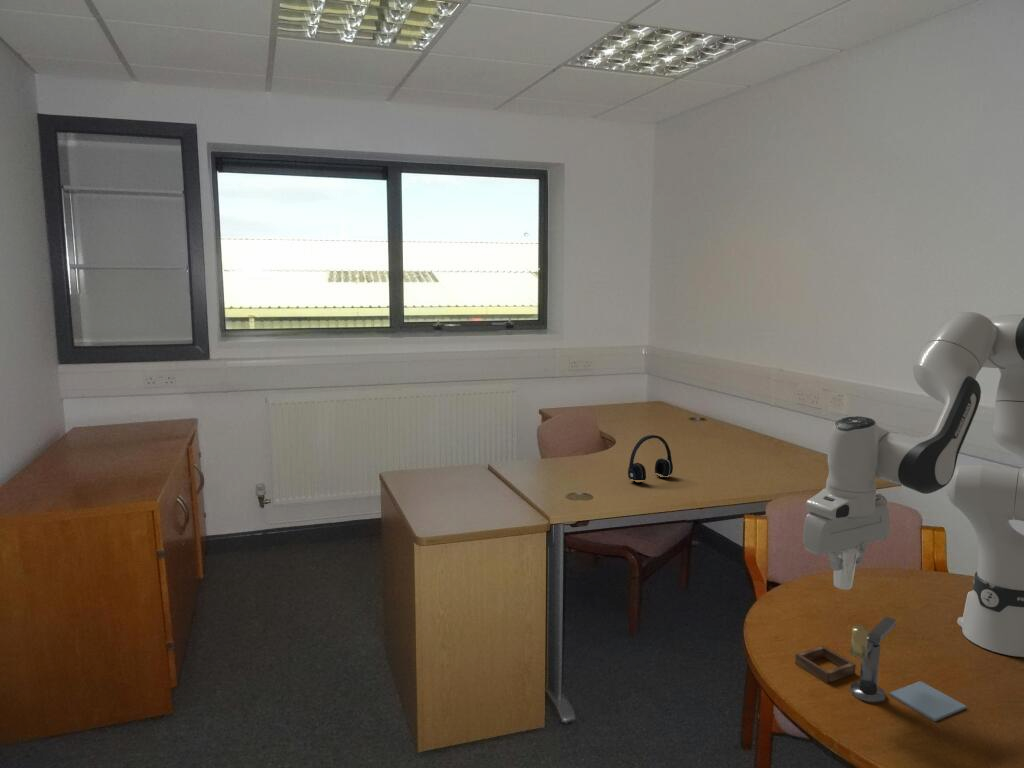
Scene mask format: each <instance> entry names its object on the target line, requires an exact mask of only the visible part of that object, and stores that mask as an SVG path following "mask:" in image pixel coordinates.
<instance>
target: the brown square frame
mask: <svg viewBox="0 0 1024 768" xmlns="http://www.w3.org/2000/svg"><path fill="white" fill-rule="evenodd" d="M821 658H824V659H825V660H827V661H829V662H830V663H832V664H833V665H836V666H837V667H835V668H832V669H828V670H827V669H825V668H823V667H822V666H820V665H818V664H817V663H815V662H814V661H816V660H819V659H821ZM794 659H795V661H794V664H796V666H798V667H801V668H802V669H804V670H805V671H807V672H808V673H810V674H811V675H813V676H814V677H816V678H818V679H820V680H821V681H823V682H824V683H826V684H829V683H832V682H835V681H837V680H840V679H843V678H845V677H846V678H847V677H849V676H851V675H854V674H856V669H857V667H856V663H854V662H852V661H851V660H849V659H847V658H845V657H844V656H842V655H841V654H838V653H836V651H833V650H831V649H829V648H828V647H826V646H825V645H821V646H818V647H814V648H812V649H808V650H806V651H802V652H798V653H796V654H795V658H794Z"/></svg>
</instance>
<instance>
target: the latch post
mask: <svg viewBox="0 0 1024 768" xmlns="http://www.w3.org/2000/svg"><path fill="white" fill-rule="evenodd" d="M880 656H881V645H880V646H878V647H873V648H872V649H871V650H870V652H869V653H868V654H867V655H866V658H863V659H862V658H860V661H861V662H860V673H859V681H854V682H852V683H851V684H850V690H849V691H850V693H851V695H852V696H853V697H854V698H856V699H858V700H859V701H862V702H864V703H868V704H882V703H883V702H885V701H886V692H885V691H884V689H883V688H882V687H881V686H879V685H878V680H879V668H880Z"/></svg>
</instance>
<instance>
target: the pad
mask: <svg viewBox="0 0 1024 768" xmlns="http://www.w3.org/2000/svg"><path fill="white" fill-rule="evenodd" d="M888 693H889V694H888V695H889V696H890V697H892V698H893V699H895V700H897V701H899V702H901V703H902V704H904V705H906V706H908V707H909V708H911V709H912V710H915V711H916V713H917V712H918V713H919V714H921V715H923V716H925V717H926V718H928V719H929V720H931V721H933V722H937V721H939V720H942V719H944V718H946V717H949V716H951V715H953V714H956V713H959V712H961V711H963V710H965V709H967V705H965V704H964V703H962V702H960V701H958V700H956V699H954V698H952V697H950V696H949V695H947V694H945V693H944V692H942V691H940V690H937V689H935V688H934V687H932V686H930V685H929V684H927V683H925V682H923V681H922V680H919V681H917V682H914V683H912V684H909V685H906V686H904V687H900V688H899V689H896V690H893V691H890V692H888Z"/></svg>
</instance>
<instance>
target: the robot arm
mask: <svg viewBox="0 0 1024 768" xmlns="http://www.w3.org/2000/svg"><path fill="white" fill-rule="evenodd" d="M982 368H989V369H998V370H999V373H1000V378H999V381H998V386H997V391H996V395H995V396H996V397H995V402H994V403H995V404H994V411H993V412H994V413H993V420H992V421H993V422H992V429H991V432H992V437H993V439H994V440H995V441H996V442H997V444H999V445H1000V446H1001V447H1003V448H1005V449H1006V450H1008V451H1009V452H1012V453H1014V454H1016V455H1017V456H1020V458H1021V459H1022V460H1023V461H1024V314H1003V315H999V316H995V317H994V316H993V317H987V316H985V315H983V314H981V313H979V312H974V311H962V312H959V313H958V312H957V313H956V314H954V315H952V317H950V318H949V319H947V321H945V322H944V323H943V324H942V325H941V326H940V327H939V328H938V329H937V330H936V331H935V332H934V333H933V334H932V336H931V337H930V338H929V339H928V340H927V342H926V343H925V344H924V346H923V347H922V348H921V350H920V352H919V353H918V354H917V356H916V358H915V360H914V362H913V366H912V372H913V377H914V379H915V381H916V383H917V385H919V387H920V389H921V390H923V392H925V393H926V394H927V395H928V396H930V397H931V398H933V399H935V401H938V402H940V403H942V404H943V405H944V406H943V409H942V410H941V413H940V415H939V417H938V420H937V422H936V424H935V426H934V428H933V430H932V433H931V434H929V435H927V436H921V437H917V436H912V435H908V434H904V433H898V432H896V431H891V430H888V429H886V428H882V427H880V426H879V425H877V422H876V421H875V419H873V418H870V417H866V416H859V415H858V416H846V417H842V418H841V419H838V420H837V421H836V422H834V424H833V426H832V429H831V432H830V437H829V441H828V449H827V466H828V476H827V478H826V483H825V488H822V490H820V491H819V492H818V493H816V494H815V495H814V496H811V497H810V498H809V499H807V501H806V502H805V509H806V511H808V513H807V515H806V516H805V519H804V526H803V527H804V528H803V538H802V539H803V542H802V543H803V546H804V548H805V550H807V551H808V552H809V553H811V554H814V555H817V556H823V555H827V558H828V559H829V568H830V569H831V570H833V571H834V570H835V571H838V570H841V569H842V568H843V567H842V565H843V562H842V561H840V560H839V558H838V555H840V550H844V549H848V548H852V547H857V548H858V549H859V550H858V555H857V560H856V565H855V567H856V566H861V565H862V564H863V557H864V555H865V553H866V551H867V550H868V544H871V543H875V542H879V541H883V540H886V539H887V538H888V537H889V534H890V532H891V531H890V530H891V528H890V527H891V525H890V523H891V522H890V512H889V511H890V510H889V507H888V499H887V498H886V497H885V496H884V495H883V494H882V493H877V484H876V479H881V480H883V481H886V482H890V483H893V484H897V485H900V486H903V487H905V488H907V489H911V490H913V491H916V492H918V493H921V494H923V495H926V494H927V495H928V494H931V493H935V492H937V491H939V490H941V489H943V488H945V493H946V496H947V497H948V500H949V501H950V503H951V504H952V505H953V506H954V507H955V508H956V509H957V510H959V511H960V512H961V513H962V514H963V515H964V516H965V517H966V518H967V520H968V521H969V523H970V524H971V525H972V527H973V529H974V532H975V535H976V538H977V546H978V547H977V548H978V549H977V550H978V555H977V559H978V560H977V571H976V572H975V573H974V577H973V578H972V579H973V581H972V582H973V586H972V589H973V590H971V591H970V590H969V591H968V593H967V596H966V600H965V605H964V610H963V615H962V616H959V617H958V618H957V619H956V622H957V624H958V626H959V627H961V630H962V634H963V636H964V637H965V638H966V639H968V640H969V641H970V642H972V643H973V644H975V645H977V646H979V647H981V648H983V649H986V650H988V651H990V652H994V653H998V654H1002V655H1007V656H1011V657H1021V658H1024V534H1022V533H1021V532H1019V531H1018V530H1016V529H1015V528H1014V527H1013V526H1012V524H1011V523H1010V521H1011V520H1013V521H1019V522H1020V521H1021V522H1024V467H1022V468H1021V467H1019V468H1016V467H1015V468H1014V467H1008V466H1000V465H995V464H993V465H992V464H986V463H968V464H959V465H957V461H958V457H959V453H960V451H961V449H962V446H963V444H964V442H965V440H966V437H967V435H968V433H969V430H970V428H971V425H972V423H973V420H974V418H975V416H976V413H977V410H978V408H979V406H980V402H981V396H982V395H981V394H982V390H981V389H982V388H981V386H980V383H979V382H978V380H976V379H977V376H978V374H979V372H980V371H981V370H982ZM956 465H957V466H956ZM863 541H864V542H863ZM862 543H863V544H862ZM861 544H862V545H861ZM860 545H861V547H860ZM859 547H860V548H859Z"/></svg>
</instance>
